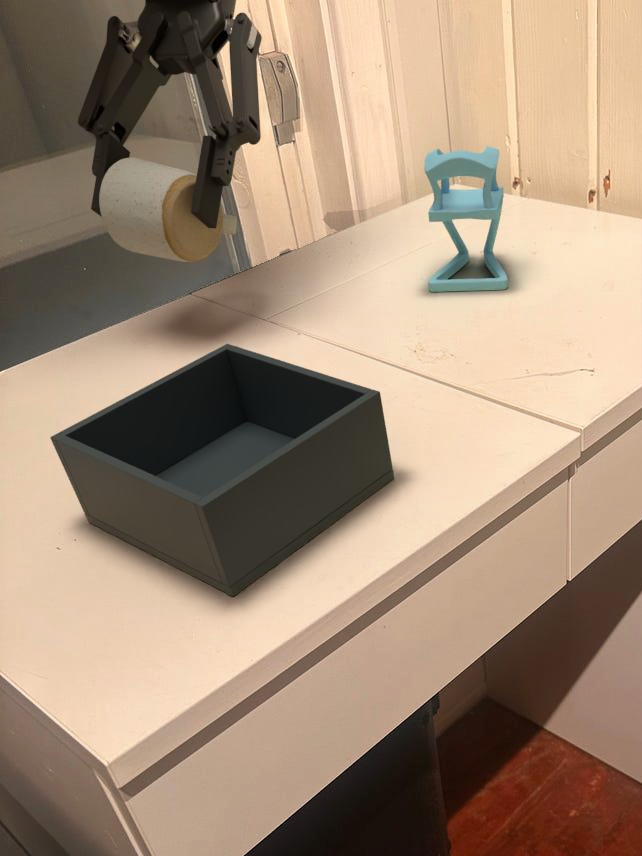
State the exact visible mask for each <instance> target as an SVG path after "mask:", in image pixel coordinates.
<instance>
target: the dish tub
mask: <svg viewBox="0 0 642 856" xmlns="http://www.w3.org/2000/svg"><path fill="white" fill-rule="evenodd" d="M388 437H389V436H388V431H387V425H386V419H385V414H384V408H383V402H382V396H381V391H380V390H376V389H372V388H369V387H366V386H364V385H363V386H362V385H360V384H356V383H353V382H351V381H348V380H344V379H342V378H341V379H340V378H338V377H335V376H331V375H329V374H325V373H322V372H318V371H316V370H312V369H309V368H307V367H303V366H299V365H297V364H293V363H290V362H286V361H284V360H281V359H278V358H274V357H271V356H268V355H265V354H262V353H259V352H255V351H252V350H249V349H246V348H243V347H239V346H236V345H233V344H230V343H225V344H224V345H222V346H220V347H218V348H216V349H214V350H212V351H211V352H209V353H206V354H204V355H202V356H201V357H199V358H197V359H195V360H194V361H192V362H189V363H187V364H185V365H183V366H182V367H180V368H178V369H176V370H175V371H172V372H171V373H169V374H167V375H165V376H163V377H161V378H159V379H157V380H155V381H154V382H152V383H150V384H148V385H146V386H144V387H142V388H140V389H138V390H137V391H135V392H133V393H131V394H128V395H127V396H125V397H124V398H121V399H120V400H118V401H116V402H114V403H112V404H111V405H110V404H109V405H108V406H106V407H104V408H102V409H101V410H99V411H97V412H95V413H93V414H91V415H90V416H87V417H86V418H83V419H82V420H80V421H78V422H76V423H74V424H72V425H71V426H69V427H67V428H65V429H63V430H61V431H59V432H57V433H56V434H53V435H51V436H50V441H51V443H52V445H53V447H54V450H55V451H56V454H57V457H58V458H59V461H60V462H61V464H62V465H61V466H62V467H63V469H64V472H65V474H66V475H67V478H68V480H69V482H70V485H71V487H72V489H73V492H74V493H75V496H76V498H77V500H78V503H79V504H80V507H81V509H82V511H83V513H84V516H85V518H86V521H87V522H88V523H90V524H91V525H94V526H95V527H97V528H99V529H101V530H103V531H105V532H107V533H109V534H111V535H113V536H115V537H117V538H119V539H120V540H123V541H124V542H127V543H128V544H131V545H132V546H134V547H136V548H138V549H140V550H142V551H143V552H146V553H148V554H149V555H152V556H153V557H155V558H157V559H159V560H160V561H163V562H166V563H167V564H169V565H171V566H173V567H175V568H177V569H179V570H181V571H182V572H184V573H187V574H188V575H190V576H192V577H194V578H197V579H198V580H200V581H202V582H204V583H206V584H208V585H209V586H212V587H213V588H216V589H217V590H219V591H221V592H223V593H225V594H227V595H229V596H231V597H235V596H236V595H237V594H239V593H240V592H241V591H243V590H244V589H246V588H247V587H249V586H250V585H251V584H252V583H253V582H255V581H256V580H258V579H259V578H261V577H262V576H263V575H265V574H266V573H267V572H269V571H270V570H271V569H273V568H274V567H276V566H277V565H278V564H280V563H281V562H282V561H284V560H285V559H286V558H288V557H289V556H290V555H293V554H294V553H295V552H296V551H297V550H298V549H300V548H302V547H303V546H304V545H306V544H307V543H309V541H311V540H313V539H314V538H315V537H316V536H318V535H319V534H321V533H322V532H323V531H324V530H326V529H327V528H329V527H330V526H332V525H333V524H334V523H335V522H337V521H338V520H340V519H341V518H342V517H344V516H345V515H347V514H348V513H349V512H351V511H352V510H353V509H354V508H356V507H357V506H358V505H360V504H361V503H363V502H364V501H365V500H366V499H368V498H370V497H371V496H372V495H373V494H375V493H377V492H378V491H379V490H380V489H382V488H383V487H385V486H386V485H387V484H389V483H390V482H391V481H392V480H394V479H395V474H394V469H393V467H394V466H393V462H392V456H391V450H390V449H391V448H390V443H389V438H388Z"/></svg>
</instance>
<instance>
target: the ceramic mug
mask: <svg viewBox="0 0 642 856" xmlns="http://www.w3.org/2000/svg"><path fill="white" fill-rule="evenodd" d="M196 178H197V174H196V173H194V172H191V171H188V170H185V169H182V168H176V167H172V166H169V165H165V164H161V163H157V162H153V161H150V160H147V159H142V158H140V157H139V158H138V157H133V156H132V157H129V158H124V159H121V160H119V161H117V162H116V163H114V164H113V165H112V166H111V167H110V168H109V169H108V171H107V172H106V174H105V176H104V178H103V181H102V184H101V188H100V194H99V205H100V212H101V216H102V217H101V216H100V217H101V220H102V223H103V225H104V227H105V229H106V231H107V233H108V234H109V236H110V237H111V239H112V240H113V241H114V242H115V244H117V245H118V246H120V247H121V248H122V249H125V250H126V251H129V252H132V253H134V254H141V255H146V256H150V257H156V258H163V259H166V260H172V261H176V262H183V263H191V262H198V261H201V260H204V259H205V258H208V256H210V255H211V254H212V253H213V252H214V251H215V249H216V247H217V246H218V244H219V243H220V240H221V238H222V234H224V235H225V234H226V235H232V236H235V235H236V233H237V227H238V219H237V216H235V215H231V214H228V213H227V214H226V213H224V212H223V207H222V204H221V202H220V208H219V214H218V220H217V227H216V228H208V227H207V226H206V225H204V224H203V223H202V222H201V221H200V220H199V219H198V218H196V217H195V216H194V215H193V214H192V213H191V209H192V202H193V196H194V190H195V184H196Z"/></svg>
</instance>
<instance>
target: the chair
mask: <svg viewBox="0 0 642 856" xmlns="http://www.w3.org/2000/svg"><path fill="white" fill-rule="evenodd" d="M499 156H500V149H499V148H496V147H491V146H488V145H487V146H486V147H485V148H484V150H483V151H482V152H473V151H469V150H453V151H449V152H446V153H444V152H442V151H441V149H440V148H436V149H433V150H432V151H430V152H428V153H427V154H425V157H424V163H423V164H424V165H423V169H424V173H425V175H426V177H427V180H428V181H429V184H430V187H431V189H432V192H433V202H432V204H431V206H430V208H429V210H428V211H427V213H428V214H427V215H428V223H441V222H442V224H443V226H444V227H445V230H446V231H447V234H448V235H449V237H450V238H451V241H452V242H453V244H454V246H455V248H456V250H457V254H456V255H455V256H454V257H453V258H452V259H451V260H450V261H448V262H447V263H446V264H445V265H444V266H443V267H441V268H440V269H439V270H438V271H437V272H435V273H434V274H433V275H432V276H431V277H430V278H429V279H428V281H427V283H428V290H429V292H431V293H440V292H471V291H473V292H474V291H503V290H507V289H508V288H509V287H508V285H509V284H508V276H507V273H506V272H505V270H504V268H503V267H502V266H501V264H500V262H499V261H498V259H497V257H496V256H495V253H494V247H495V242H496V239H497V234H498V229H499V225H500V220H501V216H502V210H503V203H504V197H505V195H504V194H505V193H504V192H505V191H504V186H499V184H498V182H497V167H498V163H499ZM456 177H471V178H478V179H482V180H484V182H483V186H482V188H473V189H471V188H470V189H456V188H455V189H453V188H450V187H451V186H450V185H451V184H450V178H456ZM439 181H440V185H439V183H438V182H439ZM453 220H479V221H480V220H481V221H490V224H489V229H488V233H487V236H486V240H485V243H484V246H483V260H484V263H485V265H486V267H487V269H488V270H489V271H490V273H491V274H492V276H493V277H487V278H486V277H485V278H456V279H455V278H454V279H450V278H451V277H452V276H454V275H455V274H456V273H457V272H458V271H460V270H461V269H462V268H464V266H466V264H467V263H468V262H469V261H470V254H469V249H468V248H467V247H468V246H467V245H466V244H465V241H464V240H463V239H462V237H461V235H460V233H459V231H458V229H457V227H456V225H455V223H454V222H453Z"/></svg>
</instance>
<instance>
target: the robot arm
mask: <svg viewBox="0 0 642 856" xmlns="http://www.w3.org/2000/svg"><path fill="white" fill-rule="evenodd" d="M144 1H145V3H144V7H143V9H142V11H141V13H140V14H139V15H138V18H137V20H134V21H127V22H123V21H122V20H121V19H120V17H119V16H117V15H112V16H111V17H110V18H108V20H107V25H106V38H105V39H106V40H105V44H104V47H103V50H102V53H101V56H100V57H99V61H98V63H97V66H96V69H95V72H94V74H93V77H92V80H91V83H90V85H89V88H88V90H87V93H86V96H85V99H84V101H83V104H82V107H81V110H80V112H79V115H78V118H77V124H78V126H79V127H80V128H82V129H83V130H84V131H85V132H86V133H87V134H88V135H89V136H91V137H92V138H93V139H94V140H95V146H94V152H93V158H92V163H91V164H92V165H91V172H92V175H93V176H95V180H94V182H95V183H94V187H93V195H92V200H91V205H90V210H91V211H93V212H94V213H95V214H97V215H98V216H99V217H101V218H102V216H101V212H100V205H99V194H100V188H101V184H102V181H103V178H104V176H105V174H106V172H107V171H108V169H109V168H110V167H111V166H112V165H113V164H114V163H116V162H117V161H119V160H121V159H124V158H131V157H130V156H131V151H130V150H129V149H127V148H126V147H125V146H124V145H125V144H126V142H127V140H128V139H129V137H130V135H131V134H132V132H133V130H134V129H135V128H136V125H137V124H138V122H139V121H140V119H141V118H142V116H143V114H144V112H145V111H146V109H147V107H148V106H149V104H150V103H151V101H152V99H153V97H154V96H155V95H156V93H157V91H158V89H159V88H160V87H164V86H166V85H167V84H168V82H169V80H170V79H171V77H172V76H176V75H177V76H178V75H180V74H183V73H186V74H190V75H193V76H194V75H195V76H196V78H197V82H198V85H199V89H200V92H201V96H202V98H203V102H204V105H205V109H206V112H207V115H208V119H209V122H210V125H211V126H210V125H208V128H209V130H210V131H211V132H212V133H213V134H214V135H215V138H214V137H213V136H212V135H206V134H205V135H203V136H202V141H201V148H200V154H199V158H198V165H197V166H198V167H197V173H196V175H197V178H196V184H195V190H194V196H193V202H192V209H191V213H192V214H193V215H194V216H195V217H196V218H198V219H199V220H200V221H201V222H202V223H203V224H204V225H206V226H207V227H208V228H216V227H217V220H218V214H219V208H220V203H221V201H222V195H223V190H224V189H223V188H224V187H229V186H230V184H231V182H232V180H233V173H234V166H235V161H236V155H237V152H238V151H239V149H240V148H241V146H243V145H245V144H248V143H249V144H250V145H251V146H252V145H253V146H254V145H257V144H259V143H260V140H261V120H260V119H261V116H260V115H261V114H260V101H259V100H260V98H259V82H258V81H259V79H258V65H257V64H258V63H257V62H258V61H257V59H258V55H259V51H260V47H261V43H262V39H263V38H262V34H261V33H260V32H259V30H258V28H257V27H256V26H255V24H254V23H253V22H252V20H251V19H250V17H249V16H248V14H247V13H246V12H239V13H238V14H236V16H235V11H236V10H235V9H236V3H237V0H144ZM234 17H235V18H234ZM227 43H229V44H228V45H229V46H228V47H229V49H228V51H229V66H230V67H229V68H230V85H231V86H230V87H231V105H232V107H231V106H230V103H229V100H228V99H229V98H228V96H227V93H226V92H227V91H226V89H225V85H224V82H223V80H224V76H223V73H222V70H221V66H220V63H219V59H218V55H219V53H220V52H221V51H222V50H223V48H224V47H225V46H226V44H227ZM150 58H151V59H152V60H153V61H154V62H155V64H156V65H158V66H157V67H156V66H155V65H154V63H152V61H151V59H150ZM231 108H232V109H231Z"/></svg>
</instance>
